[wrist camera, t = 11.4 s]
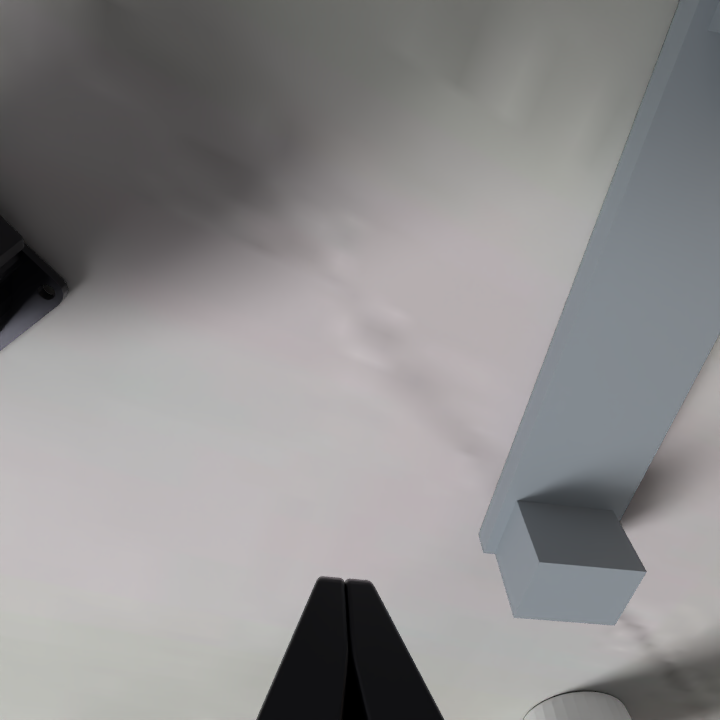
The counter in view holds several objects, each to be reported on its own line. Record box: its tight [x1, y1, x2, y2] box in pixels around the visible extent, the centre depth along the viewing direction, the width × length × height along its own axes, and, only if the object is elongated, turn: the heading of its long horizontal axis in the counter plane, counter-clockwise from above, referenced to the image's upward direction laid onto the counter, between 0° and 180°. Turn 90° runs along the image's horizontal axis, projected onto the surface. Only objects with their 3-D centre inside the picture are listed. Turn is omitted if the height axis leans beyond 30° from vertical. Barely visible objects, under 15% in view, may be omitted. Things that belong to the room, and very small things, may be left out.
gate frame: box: [479, 0, 720, 625], centre depth 19 cm, size 5×23×4 cm, turn 170°
